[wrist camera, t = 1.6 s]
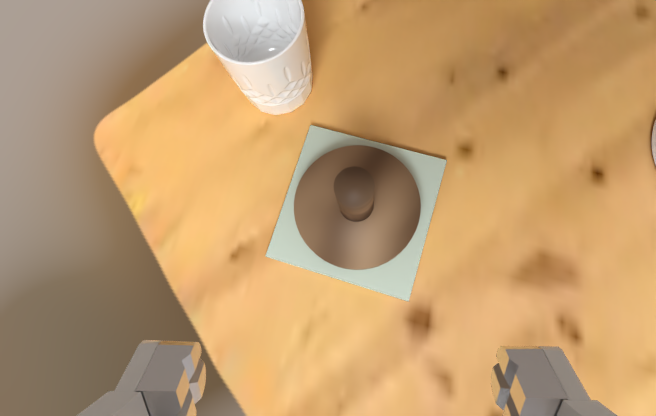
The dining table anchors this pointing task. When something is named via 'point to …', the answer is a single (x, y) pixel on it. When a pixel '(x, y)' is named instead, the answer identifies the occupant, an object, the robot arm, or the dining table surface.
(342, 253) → the lid
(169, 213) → the dining table surface
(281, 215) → the mat
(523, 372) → the robot arm
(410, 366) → the dining table surface
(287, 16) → the white cup
